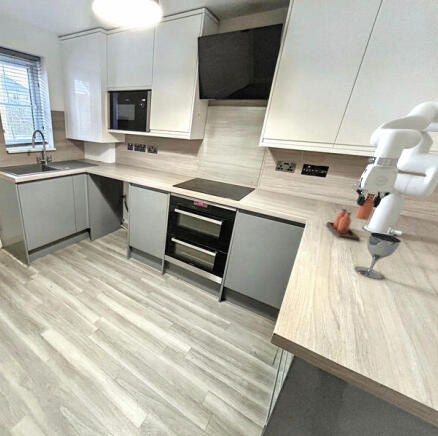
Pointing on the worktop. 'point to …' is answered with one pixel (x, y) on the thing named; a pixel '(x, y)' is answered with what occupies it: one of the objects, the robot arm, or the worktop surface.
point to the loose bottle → (366, 207)
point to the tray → (348, 235)
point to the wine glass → (379, 251)
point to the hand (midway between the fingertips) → (366, 205)
